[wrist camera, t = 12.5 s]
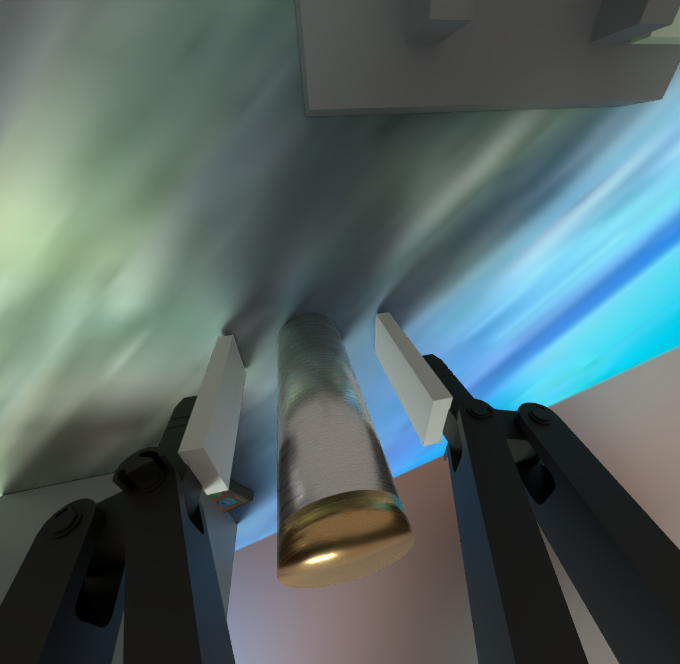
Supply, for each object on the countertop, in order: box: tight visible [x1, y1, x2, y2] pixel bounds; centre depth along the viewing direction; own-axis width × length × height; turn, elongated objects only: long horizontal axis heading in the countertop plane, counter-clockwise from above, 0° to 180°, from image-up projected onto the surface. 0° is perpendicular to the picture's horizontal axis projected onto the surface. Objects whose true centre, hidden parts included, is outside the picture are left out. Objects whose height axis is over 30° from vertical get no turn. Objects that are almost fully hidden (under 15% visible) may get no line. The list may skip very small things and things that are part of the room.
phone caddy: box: [0, 473, 237, 664], centre depth 16 cm, size 12×12×10 cm
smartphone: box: [210, 479, 254, 513], centre depth 20 cm, size 8×15×1 cm, turn 116°
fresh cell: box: [277, 314, 415, 588], centre depth 11 cm, size 4×4×10 cm
